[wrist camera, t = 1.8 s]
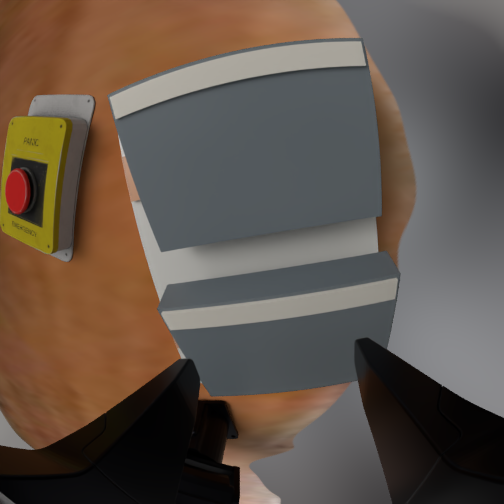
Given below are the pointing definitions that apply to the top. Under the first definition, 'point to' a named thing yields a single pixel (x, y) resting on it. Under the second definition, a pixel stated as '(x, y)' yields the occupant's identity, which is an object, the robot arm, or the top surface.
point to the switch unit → (249, 248)
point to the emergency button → (45, 172)
